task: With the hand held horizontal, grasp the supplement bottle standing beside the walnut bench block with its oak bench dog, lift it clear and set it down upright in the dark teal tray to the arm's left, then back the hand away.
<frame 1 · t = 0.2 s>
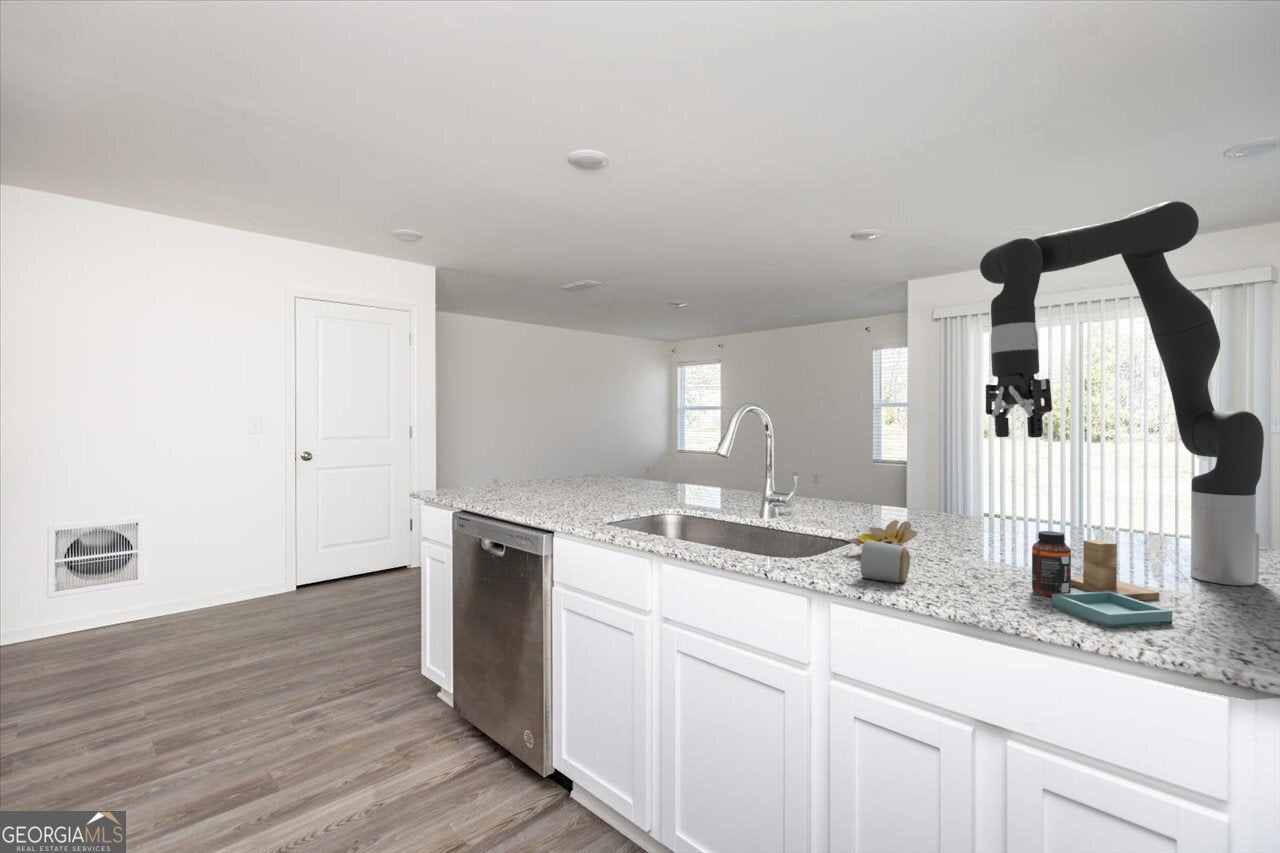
hand: (1018, 437, 115), 29 cm above the worktop, tool pointing down, fingers open, 8 cm apart
decorative flower: (880, 557, 144), on the worktop
ceramic mug: (885, 579, 125), on the worktop
bench block: (1109, 591, 115), on the worktop
supplement bottle: (1051, 595, 114), on the worktop
tray: (1109, 614, 102), on the worktop
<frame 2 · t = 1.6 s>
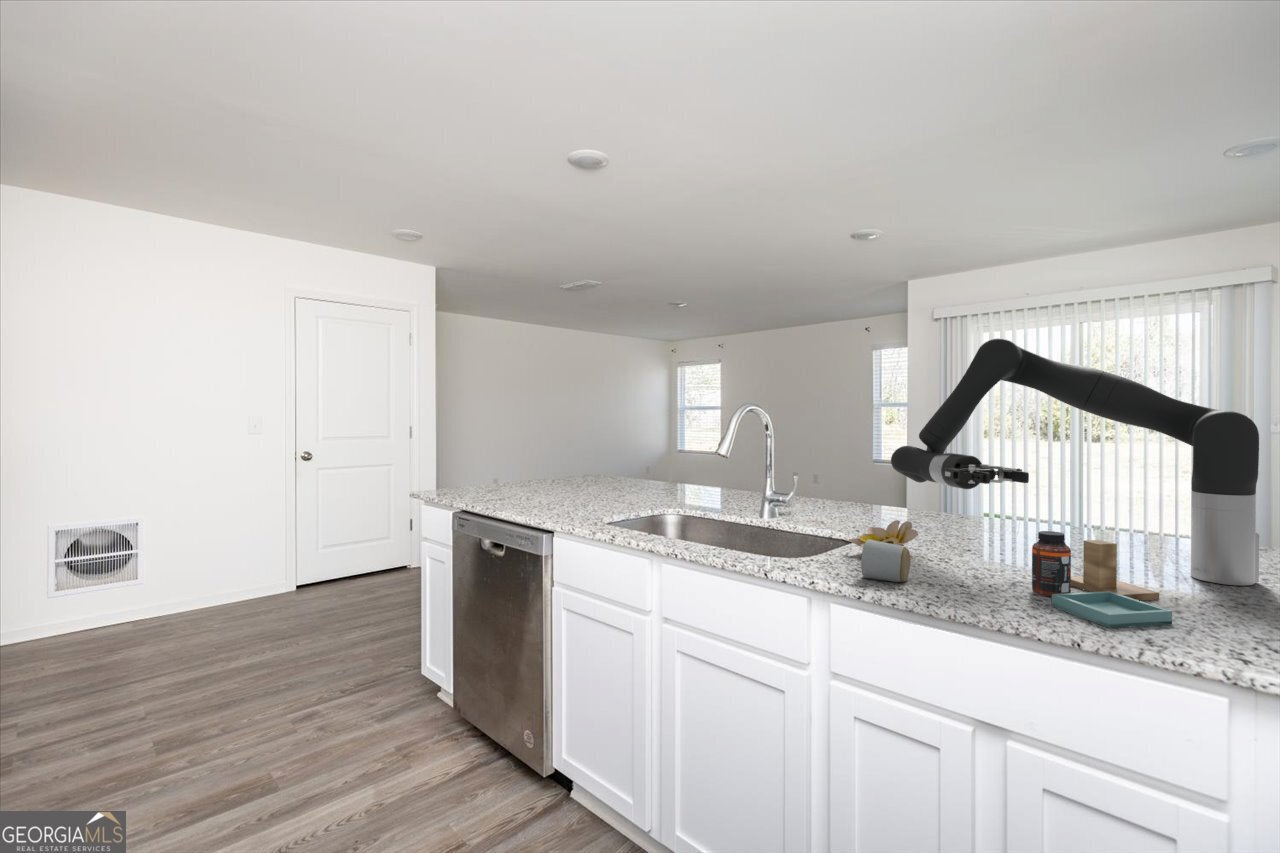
hand: (1008, 478, 124), 20 cm above the worktop, tool horizontal, fingers open, 8 cm apart
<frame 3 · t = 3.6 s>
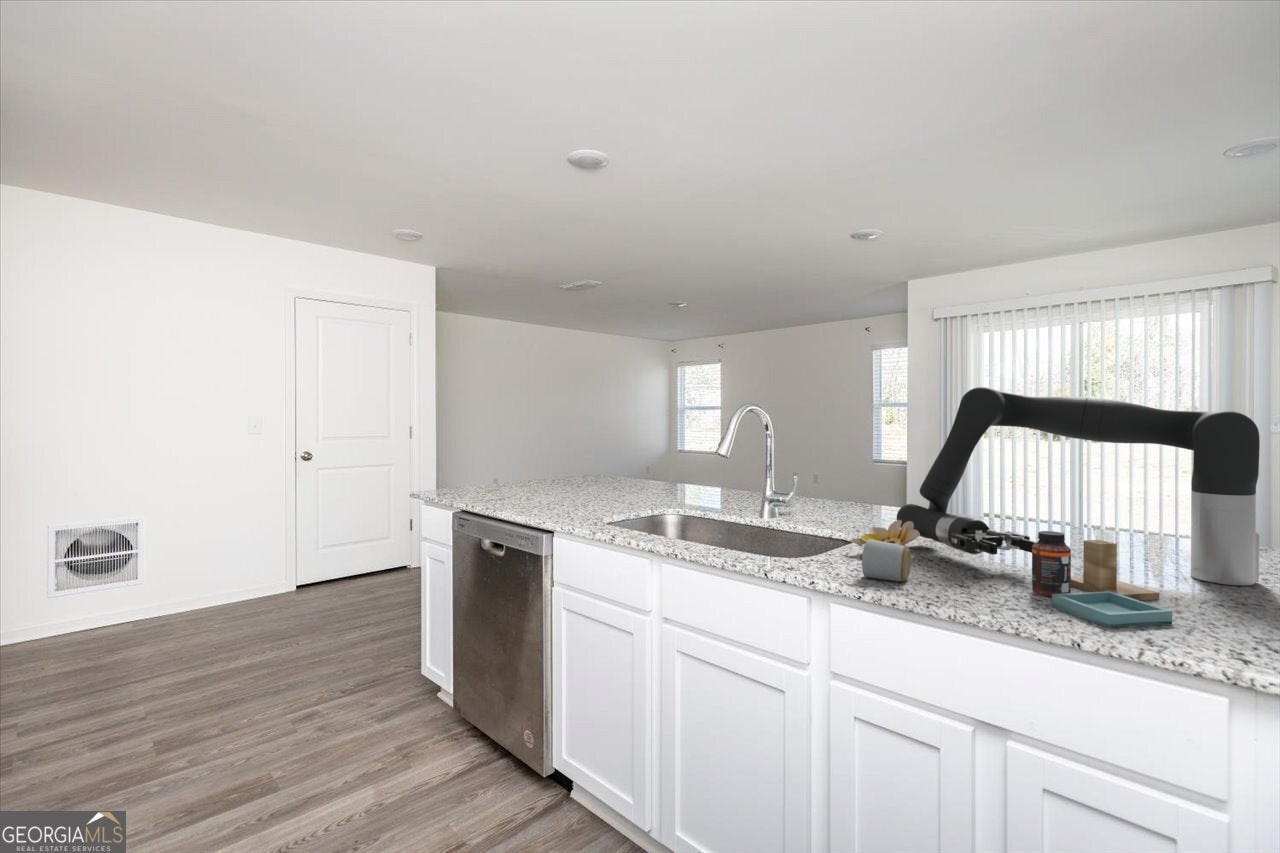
hand: (1015, 548, 122), 6 cm above the worktop, tool horizontal, fingers open, 8 cm apart
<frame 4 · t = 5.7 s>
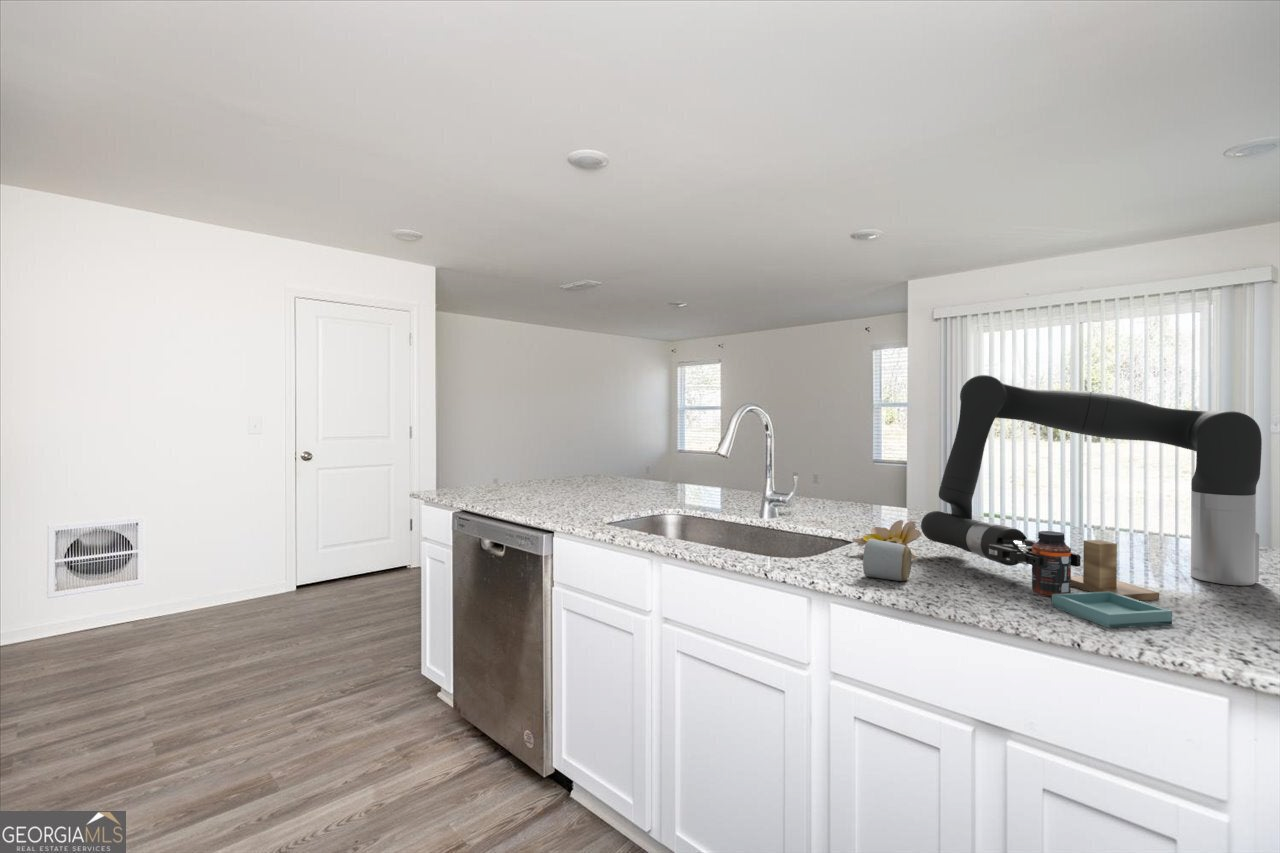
hand: (1062, 561, 111), 7 cm above the worktop, tool horizontal, fingers closed on supplement bottle, 6 cm apart
supplement bottle: (1051, 595, 114), on the worktop, touching gripper
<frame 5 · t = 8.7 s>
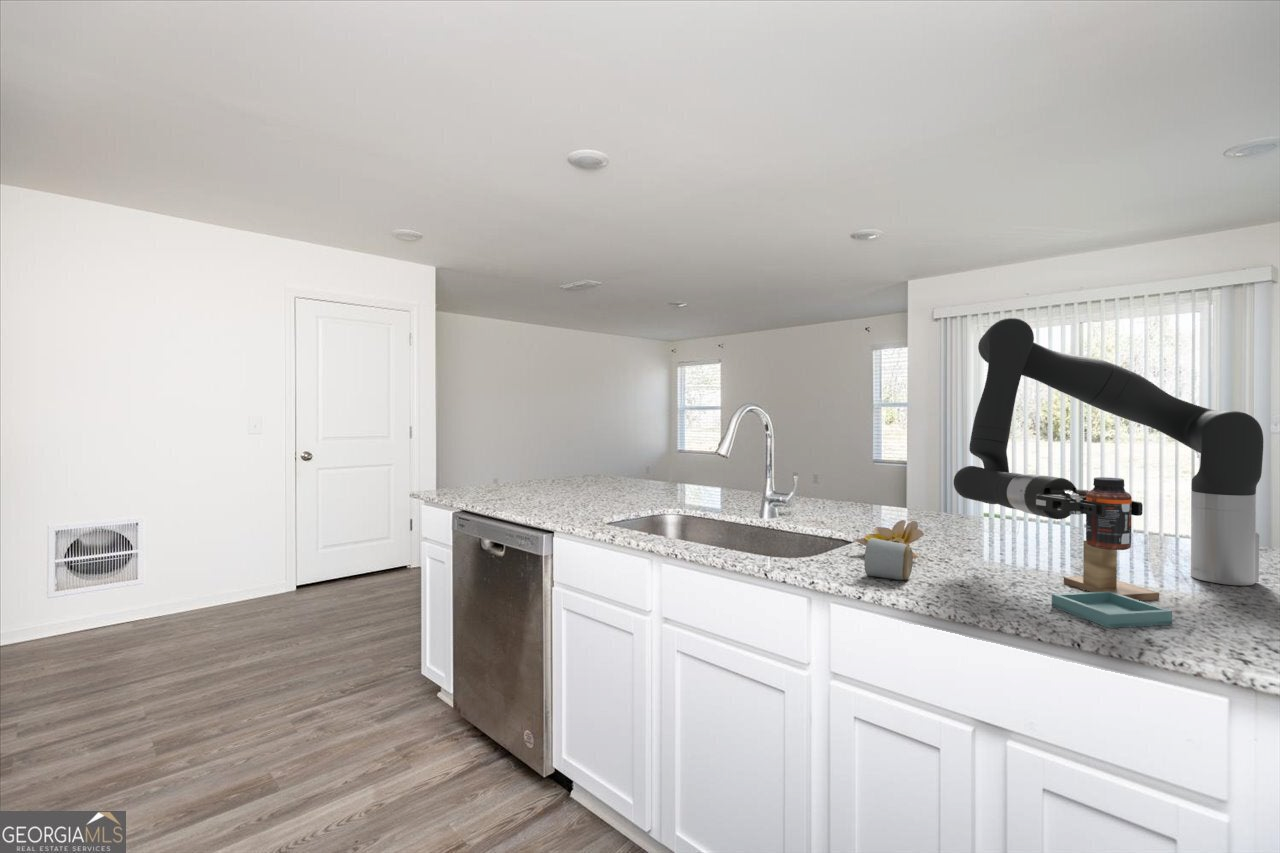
hand: (1122, 509, 99), 18 cm above the worktop, tool horizontal, fingers closed on supplement bottle, 6 cm apart
supplement bottle: (1108, 548, 102), point 11 cm above the worktop, touching gripper
when the fingers open (8 cm above the worktop, at t = 11.5 s): supplement bottle stays where it is, resting on tray.
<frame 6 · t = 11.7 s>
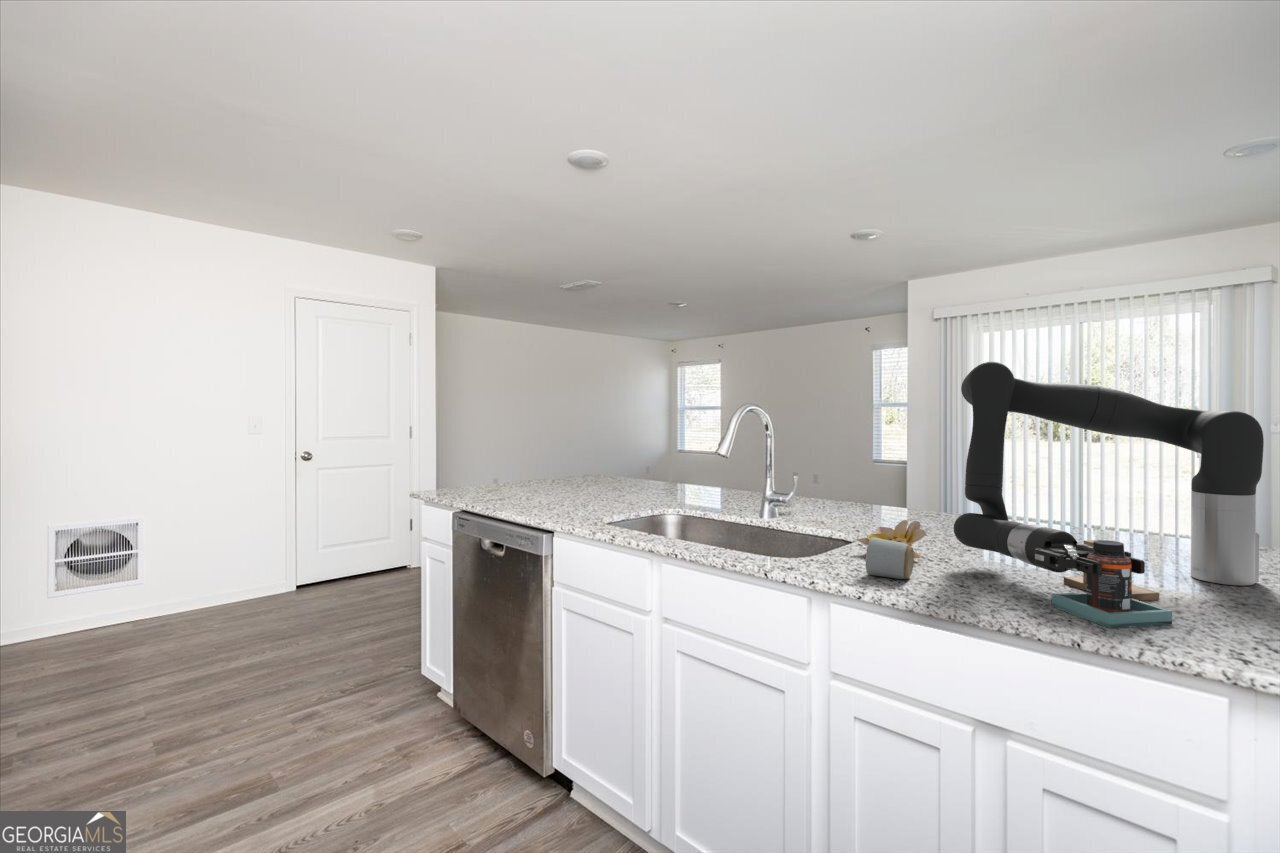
hand: (1121, 568, 99), 8 cm above the worktop, tool horizontal, fingers open, 7 cm apart
supplement bottle: (1108, 612, 102), resting on tray
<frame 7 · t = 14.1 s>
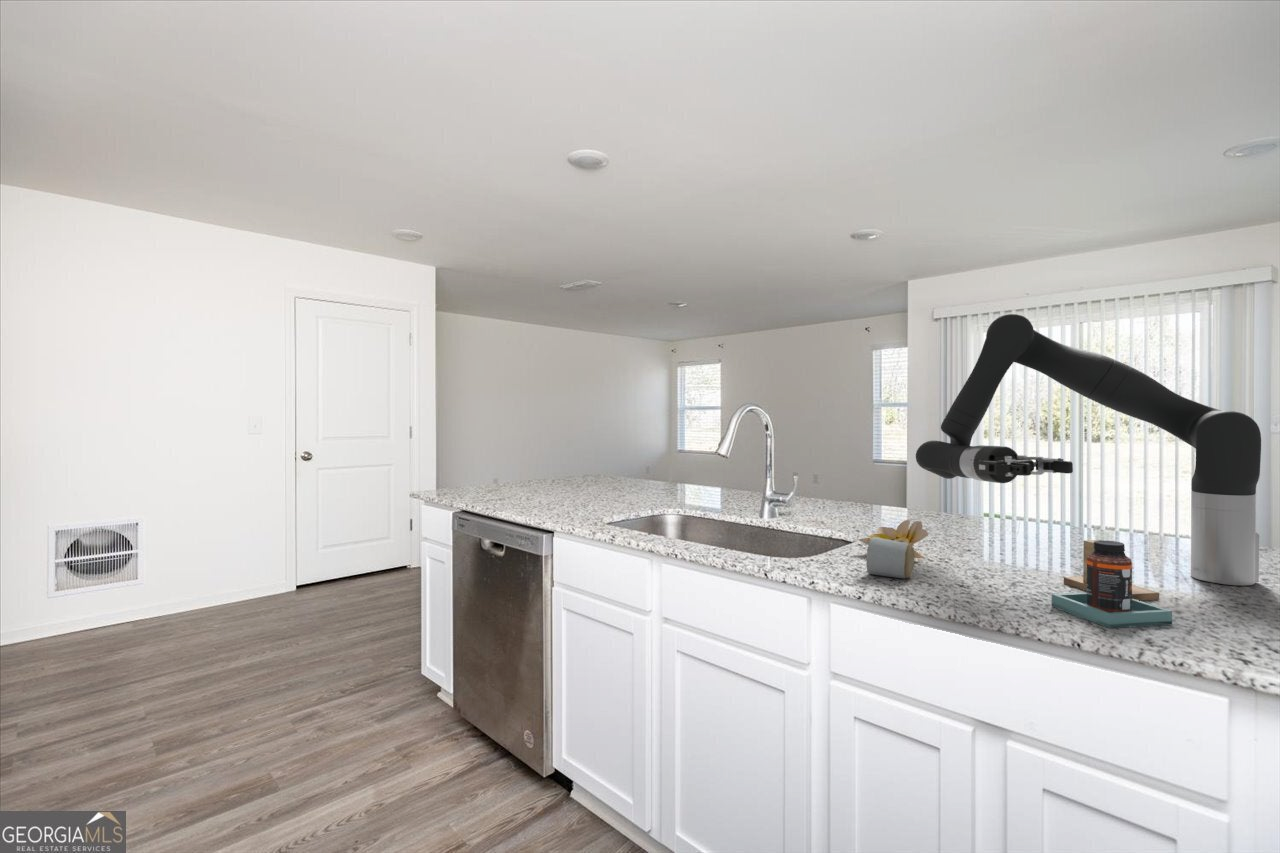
hand: (1050, 468, 114), 23 cm above the worktop, tool horizontal, fingers open, 8 cm apart
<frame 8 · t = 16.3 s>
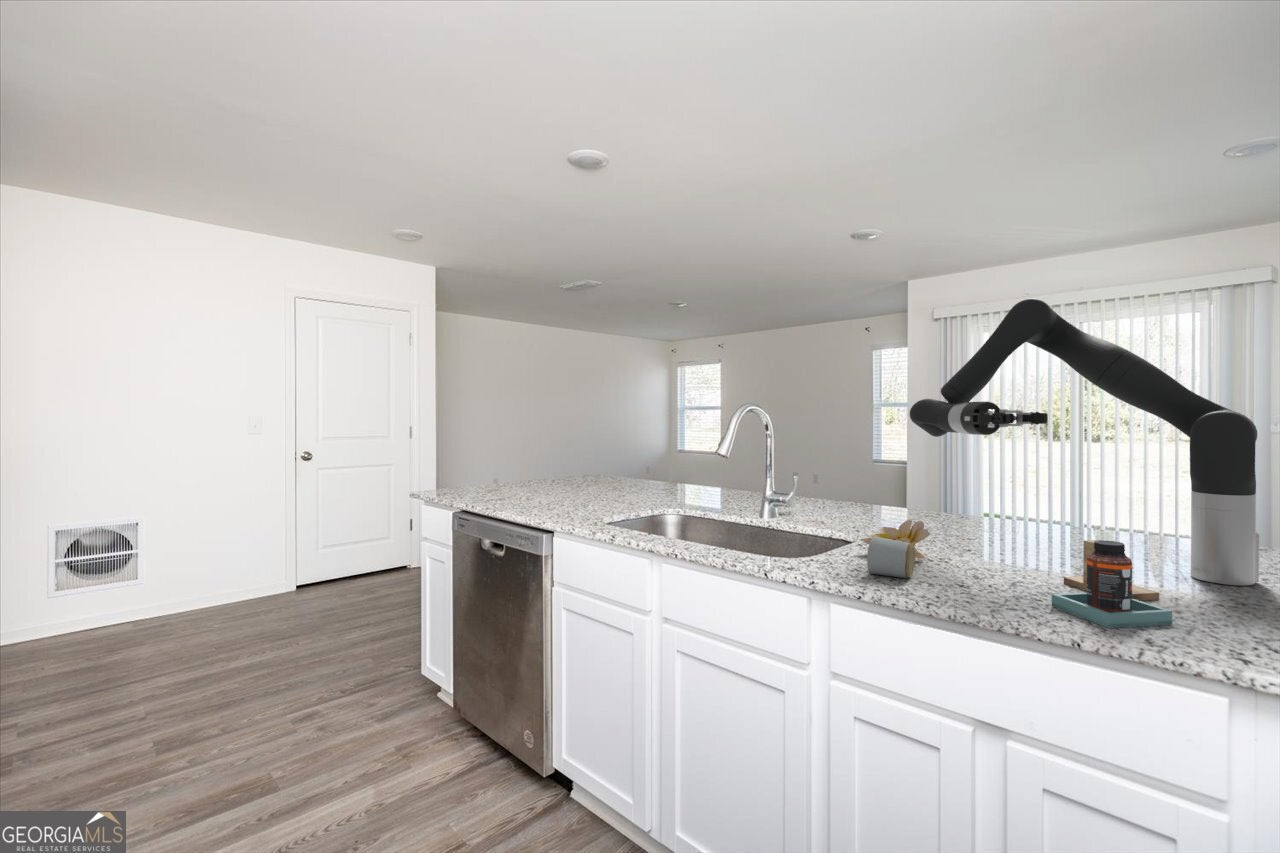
hand: (1027, 418, 127), 32 cm above the worktop, tool horizontal, fingers open, 8 cm apart
at the end: supplement bottle inside the target area on the tray (0.1 cm from its centre), point 0.4 cm above the tray's base; supplement bottle tilted 0°; the gripper is holding nothing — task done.
